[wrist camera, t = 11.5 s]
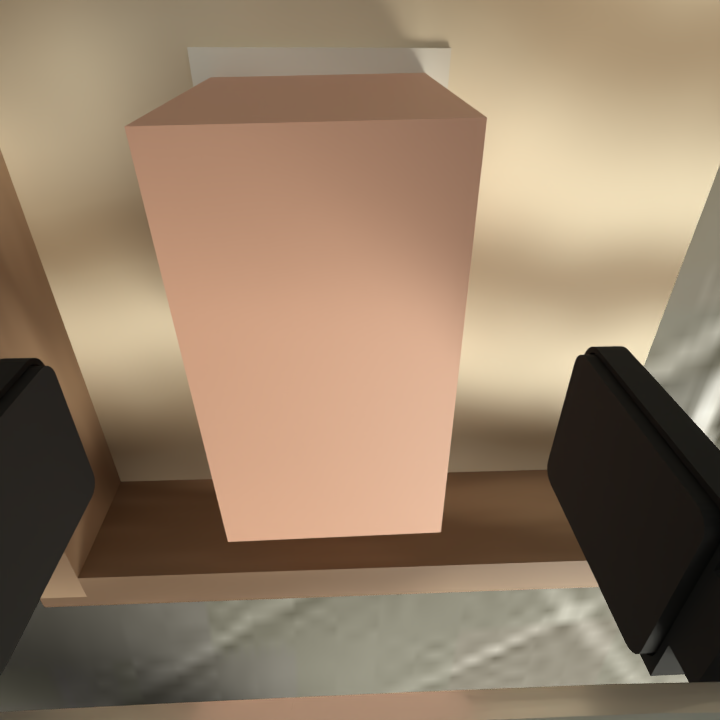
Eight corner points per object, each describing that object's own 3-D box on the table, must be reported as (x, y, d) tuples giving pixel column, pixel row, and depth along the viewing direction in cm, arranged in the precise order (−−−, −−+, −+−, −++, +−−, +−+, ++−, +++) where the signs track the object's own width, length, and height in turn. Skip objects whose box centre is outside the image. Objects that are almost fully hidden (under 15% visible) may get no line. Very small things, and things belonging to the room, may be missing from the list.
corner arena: (582, 484, 22) (639, 593, 18) (104, 498, 21) (49, 615, 17) (867, -325, 10) (1253, -565, 6) (-238, -358, 9) (-714, -663, 5)
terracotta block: (424, 72, 12) (486, 117, 7) (410, 381, 17) (440, 532, 12) (210, 77, 12) (124, 126, 7) (258, 387, 17) (228, 541, 12)
